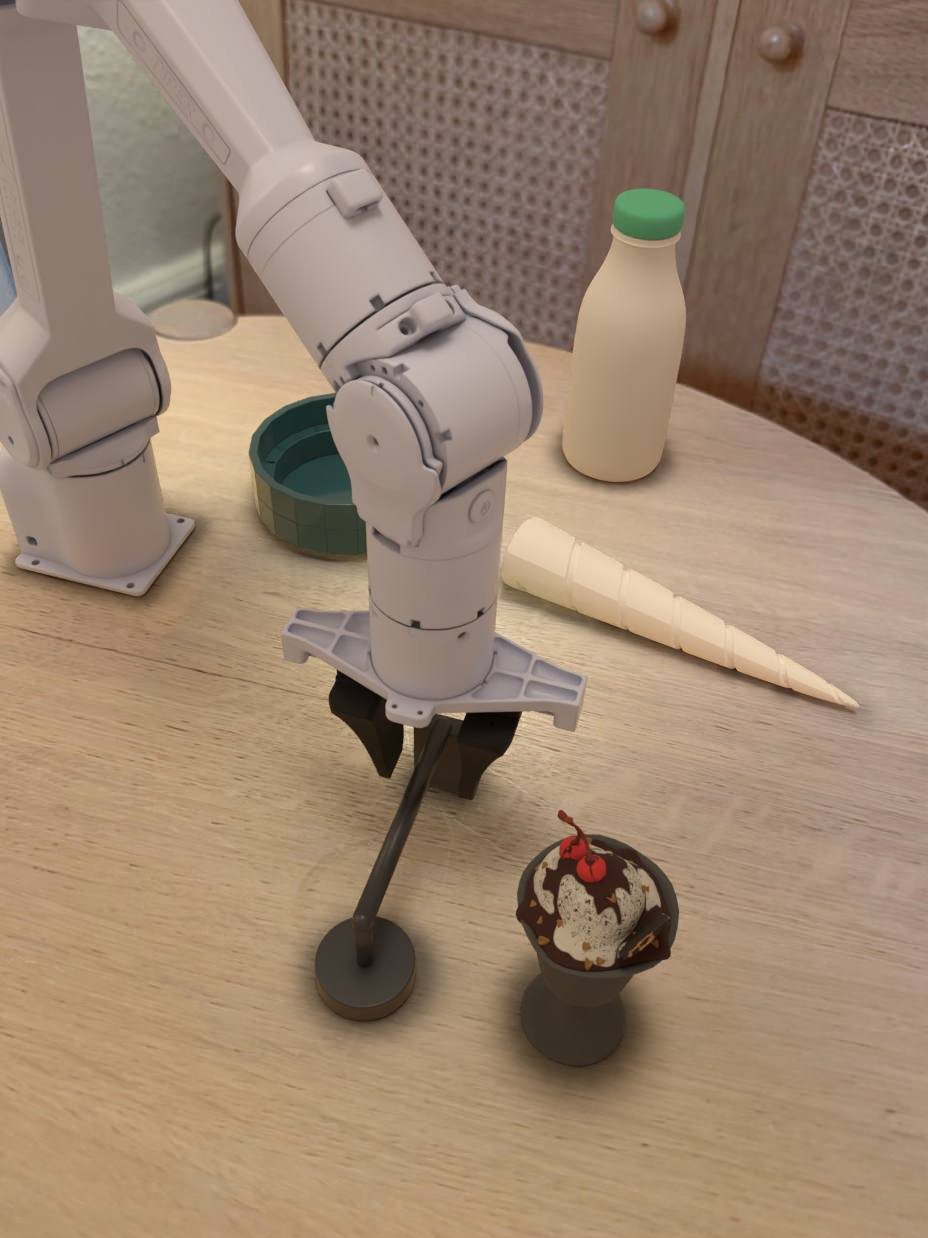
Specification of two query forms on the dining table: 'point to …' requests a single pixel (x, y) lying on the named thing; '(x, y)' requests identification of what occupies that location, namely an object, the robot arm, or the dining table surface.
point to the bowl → (305, 481)
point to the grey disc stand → (367, 944)
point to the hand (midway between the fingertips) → (430, 773)
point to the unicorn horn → (643, 607)
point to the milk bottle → (628, 344)
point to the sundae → (590, 940)
